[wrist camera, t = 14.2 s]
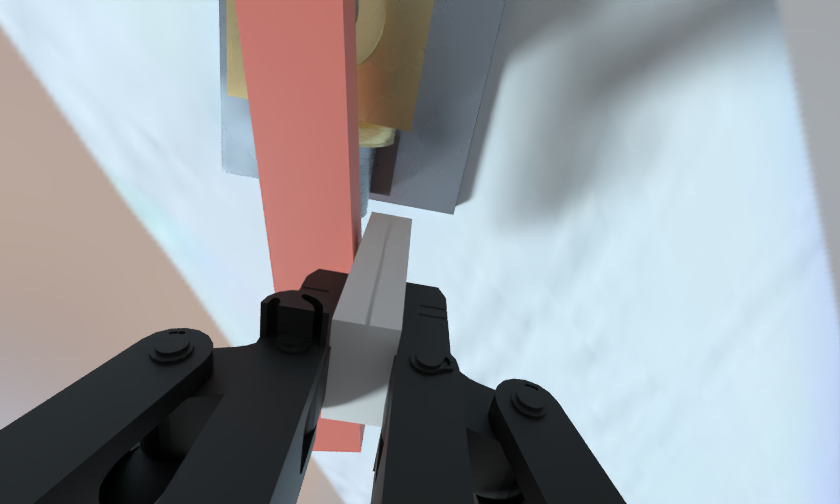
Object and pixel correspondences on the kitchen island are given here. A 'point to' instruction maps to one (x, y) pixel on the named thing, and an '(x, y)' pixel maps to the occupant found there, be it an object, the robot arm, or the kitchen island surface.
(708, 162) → the kitchen island surface
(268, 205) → the lever
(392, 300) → the robot arm
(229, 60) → the valve fixture
